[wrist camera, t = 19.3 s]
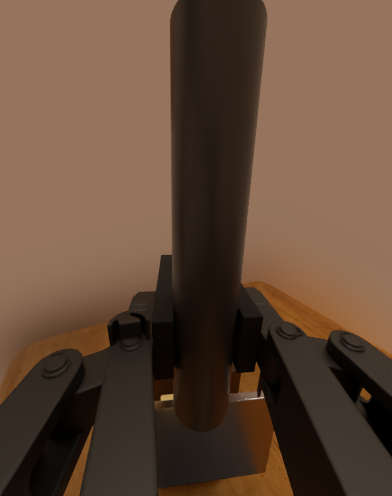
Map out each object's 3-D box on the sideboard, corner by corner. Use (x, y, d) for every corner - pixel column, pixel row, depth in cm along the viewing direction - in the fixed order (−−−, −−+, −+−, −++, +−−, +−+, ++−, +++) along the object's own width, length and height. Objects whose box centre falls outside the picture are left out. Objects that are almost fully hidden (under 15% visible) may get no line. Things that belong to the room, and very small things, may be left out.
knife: (117, 528, 9) (24, -55, 4) (129, 457, 12) (84, 43, 6) (275, 501, 10) (395, 5, 5) (255, 441, 13) (317, 69, 7)
